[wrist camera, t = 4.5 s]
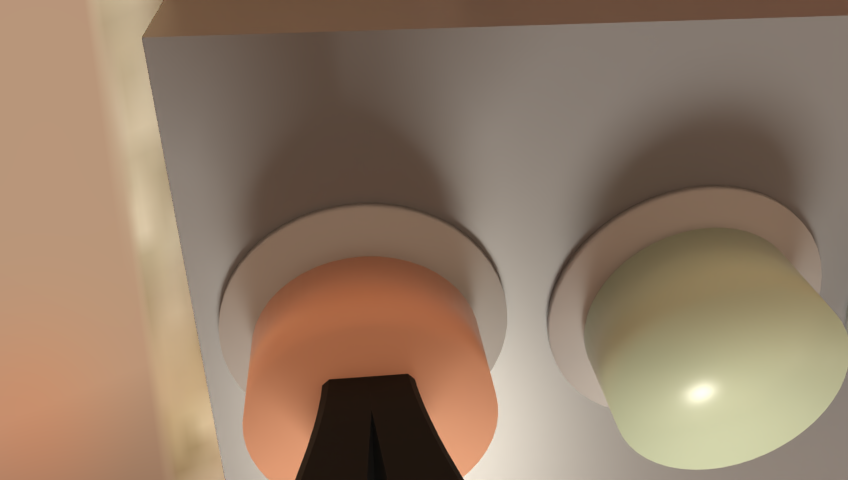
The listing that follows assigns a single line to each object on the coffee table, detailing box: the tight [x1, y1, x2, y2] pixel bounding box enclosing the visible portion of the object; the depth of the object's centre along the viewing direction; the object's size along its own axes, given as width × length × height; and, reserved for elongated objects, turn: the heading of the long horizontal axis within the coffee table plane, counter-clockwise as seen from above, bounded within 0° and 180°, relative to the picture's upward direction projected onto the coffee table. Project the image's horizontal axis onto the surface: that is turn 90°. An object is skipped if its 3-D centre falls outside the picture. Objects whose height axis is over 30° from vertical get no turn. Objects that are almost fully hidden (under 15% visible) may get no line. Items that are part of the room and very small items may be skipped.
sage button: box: [584, 228, 848, 470], centre depth 14 cm, size 4×4×2 cm
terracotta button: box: [242, 256, 498, 480], centre depth 13 cm, size 4×4×2 cm
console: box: [142, 0, 848, 480], centre depth 16 cm, size 18×11×3 cm, turn 90°
